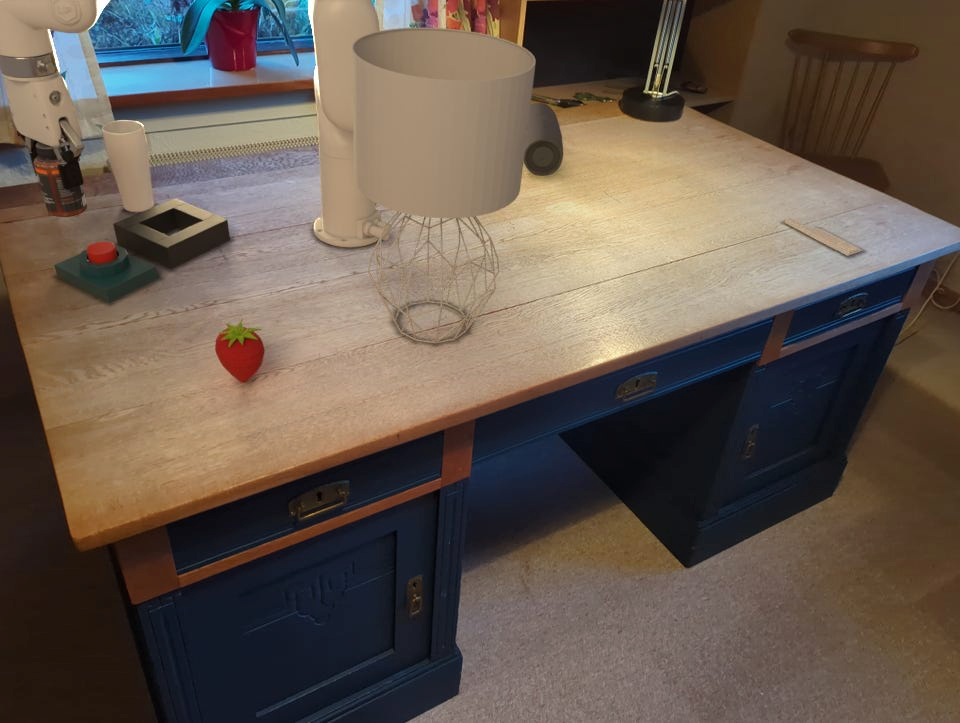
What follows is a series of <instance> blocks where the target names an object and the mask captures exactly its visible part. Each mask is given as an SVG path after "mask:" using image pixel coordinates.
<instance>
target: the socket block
mask: <svg viewBox="0 0 960 723" xmlns="http://www.w3.org/2000/svg"><path fill="white" fill-rule="evenodd" d="M112 225H113V230H114V233H115V238H116V243H117V246H120V247H122V248H124V249H126V250H128V251H130V252H132V253H135V254H136V255H138V256H141V257H143V258H146V259H148V260H149V261H151V262H154V263H156V264H159V265H160V266H162V267H164V268H167V269H170V270H173V269H175V268H177V267H178V266H181V265H183V264H185V263H187V262H189V261H191V260H193V259H196V258H197V257H199V256H201V255H203V254H205V253H208V252H209V251H211V250H213V249H215V248H217V247H219V246H221V245H223V244H226V243H228V242H229V241H231V236H230V228H229V220H228V219H227V218H224V217H222V216H220V215H217V214H214V213H212V212H210V211H207V210H205V209H202V208H200V207H198V206H195V205H193V204H190V203H188V202H186V201H183V200H180V199H178V198H176V197H175V198H172V199H170V200H167V201H164V202H163V203H160V204H158V205H155V206H153V207H152V208H150V209H148V210H145V211H143V212H137V213H135V214H134V215H131V216H128V217H126V218H124V219H121V220H119V221H116V222H114V223H113V224H112ZM175 230H179V231H177V232H174V233H173V234H171V235H167V234H168V233H170V232H172V231H175Z"/></svg>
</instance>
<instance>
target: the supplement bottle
mask: <svg viewBox="0 0 960 723" xmlns="http://www.w3.org/2000/svg"><path fill="white" fill-rule="evenodd" d="M63 142H64V141H63V140H61V139H59V143H63ZM36 149H37V153H38V155H37V157H36V158H35V159H34V167H35V170H36V174H37V176H36V178H37V181H38V184H39V187H40V191H41V195H42V198H43V201H44V204H45V208H46V211H47V213H48V214H49V215H51V216H53V217H57V218H72V217H75V216H79V215H81V214H82V213H84V212H86V211H87V209H88V202H87V198H86V194H85V190H84V187H83V184H82V185H80V186H77V187H74V188H71V189H69V190H66V189H64V188H63V185H62V181H61V177H60V173H59V170H58V166H57V165H59V164H60V163H59V161H58V159H57V156H56V154H55V152H54V150H53V148H52V147H51V146H49V145H46V144H44V143H41V142H38V143H37V144H36ZM61 150H62V153H63V155H64V154H65V153H66V151H67V146H65V147H62V148H61Z"/></svg>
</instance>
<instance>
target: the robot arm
mask: <svg viewBox="0 0 960 723" xmlns="http://www.w3.org/2000/svg"><path fill="white" fill-rule="evenodd" d="M110 2H111V0H0V74H1V77H2V78H3V82H4V88H5V93H6V97H7V102H8V106H9V110H10V114H11V118H12V120H11V122H12V125H13V126H14V128H15V129H16V130H17V131H18V133H19V135H20V138H21V139H22V140H23V142H24V144H25V146H24V147H25V149H26V151H27V152H28V153H29V157H30V160H31V164H32V167H33V171H34V174H35V177H37V174H36V170H35V167H34V159H35V158H36V157H37V155H38V153H37V149H36V144H37V143H38V142H41V143H44V144H46V145H49V146H51V147H52V148H53V150H54V152H55V154H56V156H57V159H58V161H59V163H60V164H59V165H57V166H58V170H59V173H60V177H61V181H62V185H63V188H64V189H66V190H69V189H71V188H74V187H77V186H80V185H82V186H83V185H84V183H85V181H84V177H83V174H82V169H81V166H80V161H81V158H80V157H81V155H82V153H83V151H84V149H85V145H84V143H83V141H82V140H83V133H82V128H81V124H80V121H79V117H78V114H77V111H76V108H75V105H74V101H73V99H72V96H71V93H70V91H69V88H68V86H67V83H66V81H65V79H64V77H63V76H62V75H61V70H60V66H59V61H58V57H57V54H56V49H55V46H54V42H53V38H52V34H51V31H53V32H58V33H65V34H81V33H84V32H87V31H89V30H90V29H91V28H92V27H94V26H95V24H96V23H97V21H98V19H99V17H100V15H101V13H102V11H103V10H104V8H105V7H106V6H107V5H108V4H109V3H110ZM308 17H309V20H310V25H311V29H312V36H313V43H314V44H313V46H314V56H315V64H316V66H315V69H314V74H313V86H314V87H313V88H314V98H315V109H316V122H317V138H318V140H317V141H318V164H319V182H320V183H319V184H320V185H319V186H320V202H321V203H320V204H321V216H320V217H318V218H317V219H315V221H314V223H313V233H314V235H315V236H316V238H317V239H318V240H320V241H321V242H323V243H325V244H328V245H331V246H335V247H339V248H360V247H366V246H369V245H372V244H374V243H377V242H378V240H379V238H380V236H381V234H382V232H383V230H384V228H385V226H386V224H387V223H388V222H386V221H383V220H382V211H381V210H379V209H377V203H375V202H373V201H371V200H370V199H368V198H367V197H366V196H364V195H363V194H362V193H361V192H360V191H359V189H358V188H357V186H356V184H355V180H354V133H353V82H352V45H353V43H354V42H355V41H356V40H357V39H358V38H360V37H362V36H364V35H367V34H370V33H373V32H378V31H381V30H380V21H379V16H378V12H377V9H376V7H375V5H374V3H373V1H372V0H308ZM61 139H63V140H64V141H63V143H59V140H61ZM62 147H66V153H65V154H64V155H63V153H62V150H61V148H62ZM390 224H391V223H389V224H388V225H387V227H386V229H387V228H388V227H389V226H390ZM392 227H393V225H392V226H391V227H390V228H389V229H388V231H389V230H390V229H391V228H392ZM386 229H385V231H386ZM385 231H384V232H385ZM388 231H387V232H388ZM387 232H386V233H387ZM386 233H385V234H386ZM390 233H391V231H390V232H389V233H388V234H387V235H386V236H385V237H384V238H383V239H382V240H383V241H387V240H388V239H389V238H390ZM385 234H384V235H385ZM384 235H383V236H384ZM382 240H381V241H382Z"/></svg>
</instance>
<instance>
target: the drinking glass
mask: <svg viewBox="0 0 960 723" xmlns="http://www.w3.org/2000/svg"><path fill="white" fill-rule="evenodd" d="M101 133H102V140H103V144H104V148H105V153H106V156H107V159H108V162H109V165H110V168H111V171H112V174H113V178H114V180H115V183H116V187H117V190H118V193H119V197H120V200H121V205H122V207H123V209H124V210H126V211H127V212H130V213H140V212H143V211H145V210H148V209H150V208H153V207H155V206H154V205H155V200H154V194H153V186H152V184H153V183H152V175H151V165H150V153H149V146H148V140H147V136H146V131H145V127H144V125H143V124H142V123H141V122H139V121H137V120H130V119H119V120H113V121H109V122H107V123H104V124H103V125H102V126H101Z"/></svg>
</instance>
